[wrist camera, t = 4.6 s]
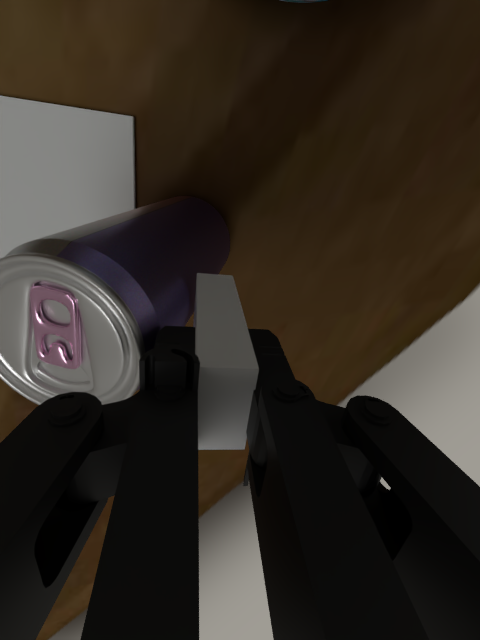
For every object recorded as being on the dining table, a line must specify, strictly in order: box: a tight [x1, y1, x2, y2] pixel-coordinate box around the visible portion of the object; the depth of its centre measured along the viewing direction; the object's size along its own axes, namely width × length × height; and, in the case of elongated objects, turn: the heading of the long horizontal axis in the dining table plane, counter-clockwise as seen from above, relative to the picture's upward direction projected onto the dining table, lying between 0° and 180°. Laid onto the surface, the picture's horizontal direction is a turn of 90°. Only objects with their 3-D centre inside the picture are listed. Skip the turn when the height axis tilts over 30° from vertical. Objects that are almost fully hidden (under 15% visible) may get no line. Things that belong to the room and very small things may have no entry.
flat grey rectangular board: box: [0, 96, 136, 258], centre depth 21 cm, size 14×17×1 cm
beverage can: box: [0, 196, 230, 405], centre depth 16 cm, size 6×6×15 cm
